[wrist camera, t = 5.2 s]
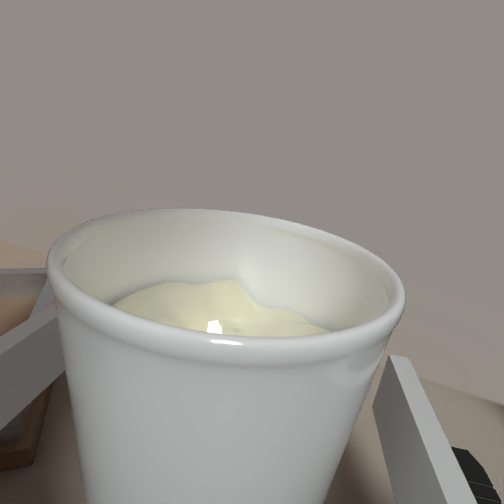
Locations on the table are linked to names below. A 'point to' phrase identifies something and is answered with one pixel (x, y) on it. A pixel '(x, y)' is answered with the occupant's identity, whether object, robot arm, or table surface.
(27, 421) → the walnut plate
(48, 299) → the grey square frame
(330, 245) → the candle holder
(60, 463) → the table surface
